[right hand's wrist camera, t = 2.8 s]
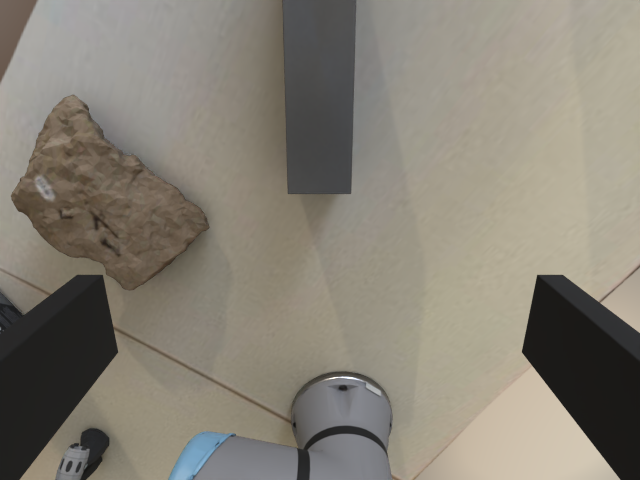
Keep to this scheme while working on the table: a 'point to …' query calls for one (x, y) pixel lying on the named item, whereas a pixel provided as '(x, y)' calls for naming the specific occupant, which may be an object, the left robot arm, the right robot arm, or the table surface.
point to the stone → (103, 200)
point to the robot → (83, 456)
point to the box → (319, 94)
